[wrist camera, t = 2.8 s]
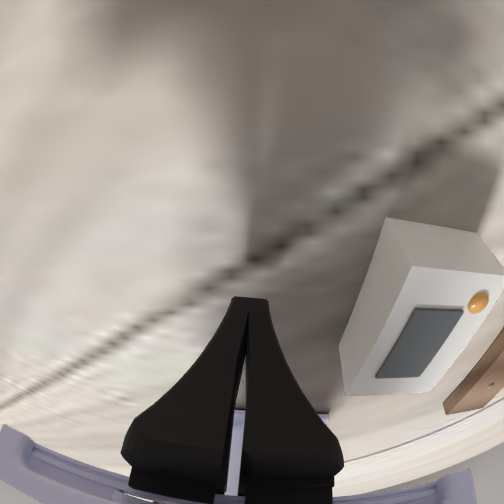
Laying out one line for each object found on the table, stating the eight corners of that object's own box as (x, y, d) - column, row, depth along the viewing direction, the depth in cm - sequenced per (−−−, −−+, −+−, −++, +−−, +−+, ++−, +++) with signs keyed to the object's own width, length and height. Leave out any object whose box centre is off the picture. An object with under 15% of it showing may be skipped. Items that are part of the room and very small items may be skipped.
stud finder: (414, 343, 17) (429, 394, 14) (337, 342, 17) (345, 398, 14) (473, 229, 12) (512, 278, 9) (383, 214, 12) (413, 268, 9)
